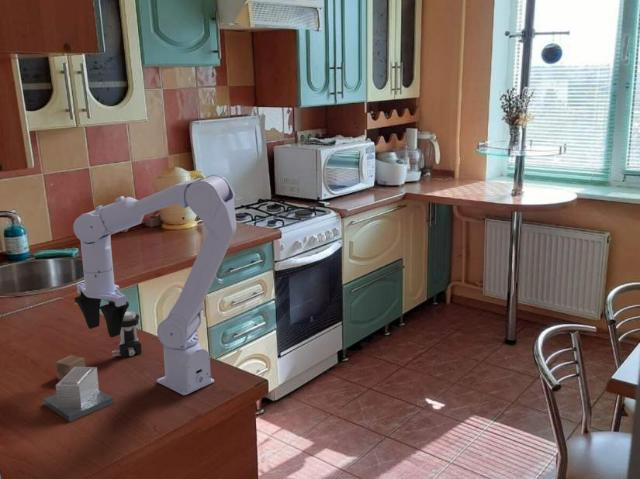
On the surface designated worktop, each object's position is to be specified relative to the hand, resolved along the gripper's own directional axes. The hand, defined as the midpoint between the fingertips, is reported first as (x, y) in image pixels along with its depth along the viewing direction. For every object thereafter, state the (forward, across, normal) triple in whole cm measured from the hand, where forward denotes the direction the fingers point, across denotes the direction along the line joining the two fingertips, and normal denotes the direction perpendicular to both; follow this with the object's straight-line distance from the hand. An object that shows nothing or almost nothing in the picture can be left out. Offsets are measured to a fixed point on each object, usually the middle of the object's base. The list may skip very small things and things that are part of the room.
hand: (104, 331), depth 127 cm
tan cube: (+10, +6, +5) cm, 13 cm away
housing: (+9, -5, +10) cm, 14 cm away
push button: (+11, +7, -9) cm, 16 cm away
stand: (+10, -6, +10) cm, 16 cm away
